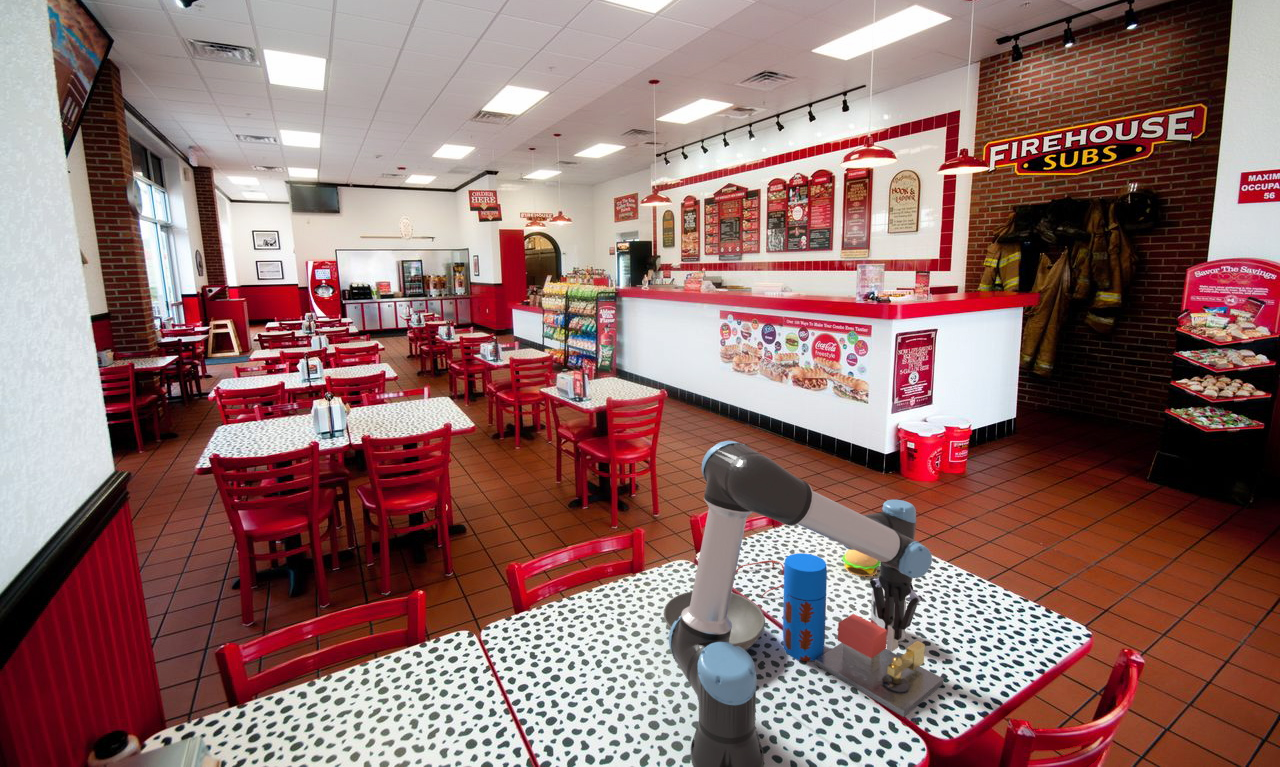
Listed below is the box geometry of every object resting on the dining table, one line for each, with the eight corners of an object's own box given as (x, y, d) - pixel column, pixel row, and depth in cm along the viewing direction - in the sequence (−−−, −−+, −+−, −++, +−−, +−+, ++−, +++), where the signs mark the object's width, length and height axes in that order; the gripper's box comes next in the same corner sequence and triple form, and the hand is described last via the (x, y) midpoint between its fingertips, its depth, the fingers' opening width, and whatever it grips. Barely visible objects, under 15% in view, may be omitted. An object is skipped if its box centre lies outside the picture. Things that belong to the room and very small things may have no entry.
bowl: (684, 683, 146) (684, 653, 144) (652, 622, 172) (651, 596, 171) (783, 663, 153) (784, 633, 152) (737, 607, 180) (738, 582, 178)
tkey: (894, 687, 139) (896, 664, 138) (885, 682, 141) (886, 659, 140) (924, 665, 147) (925, 642, 146) (915, 660, 149) (916, 638, 148)
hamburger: (882, 569, 202) (883, 545, 200) (875, 584, 192) (877, 559, 190) (846, 561, 208) (847, 538, 207) (838, 575, 198) (839, 551, 196)
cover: (871, 658, 144) (872, 639, 143) (837, 640, 151) (838, 622, 150) (886, 648, 147) (887, 630, 147) (852, 631, 155) (853, 613, 154)
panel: (903, 717, 133) (905, 691, 132) (814, 664, 152) (815, 641, 151) (943, 683, 143) (944, 659, 142) (855, 638, 162) (856, 617, 161)
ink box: (869, 627, 168) (871, 588, 166) (884, 623, 169) (885, 585, 167) (890, 643, 160) (892, 603, 158) (905, 640, 161) (907, 600, 159)
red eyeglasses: (803, 593, 188) (803, 578, 187) (760, 604, 182) (760, 589, 181) (771, 569, 204) (771, 556, 203) (731, 579, 198) (731, 565, 197)
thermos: (826, 663, 152) (829, 573, 148) (783, 659, 154) (785, 570, 150) (822, 639, 163) (824, 554, 159) (782, 635, 165) (783, 551, 161)
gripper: (930, 567, 144) (924, 655, 148) (880, 549, 154) (877, 631, 158) (914, 576, 140) (909, 666, 143) (864, 557, 150) (861, 642, 154)
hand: (892, 648), depth 151 cm, fingers closed
